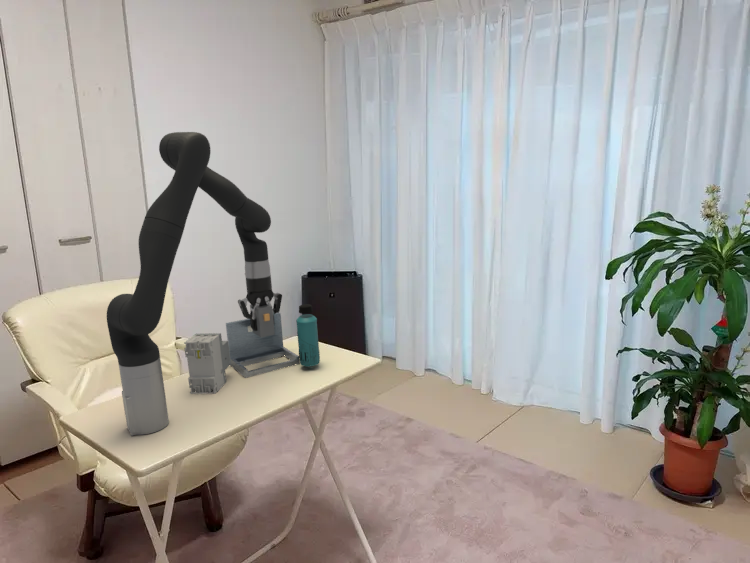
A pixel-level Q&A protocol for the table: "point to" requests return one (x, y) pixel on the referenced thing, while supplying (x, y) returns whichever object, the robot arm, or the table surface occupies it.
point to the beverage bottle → (307, 337)
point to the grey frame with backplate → (256, 347)
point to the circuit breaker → (207, 362)
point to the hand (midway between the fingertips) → (263, 328)
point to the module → (264, 321)
